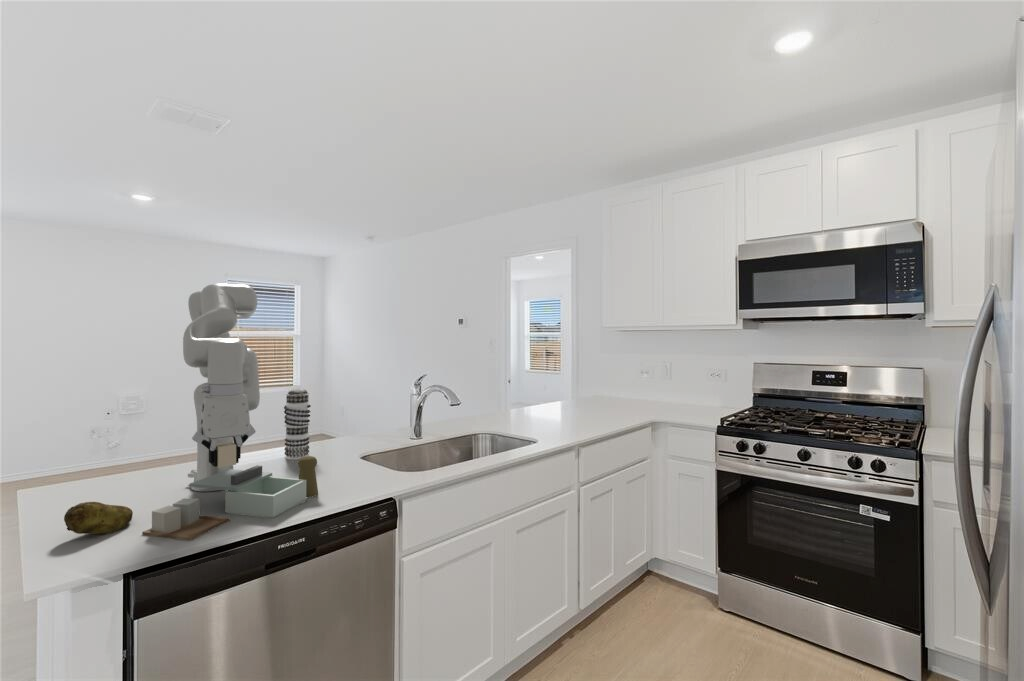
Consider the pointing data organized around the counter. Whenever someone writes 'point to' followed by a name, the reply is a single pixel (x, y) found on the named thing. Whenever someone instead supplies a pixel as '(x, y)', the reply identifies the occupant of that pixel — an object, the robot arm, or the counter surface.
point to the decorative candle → (297, 424)
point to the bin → (266, 497)
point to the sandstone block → (226, 454)
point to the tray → (191, 528)
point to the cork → (308, 474)
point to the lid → (232, 479)
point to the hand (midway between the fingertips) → (224, 462)
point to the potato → (97, 518)
